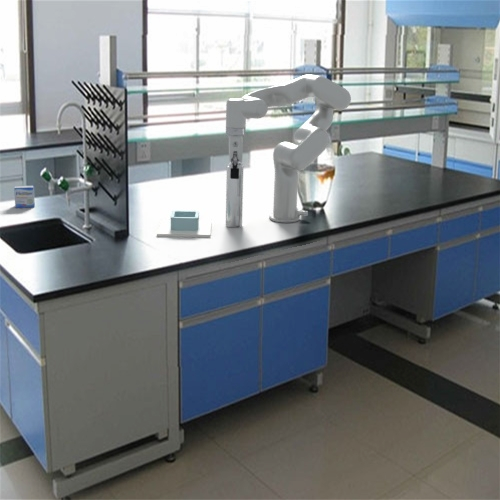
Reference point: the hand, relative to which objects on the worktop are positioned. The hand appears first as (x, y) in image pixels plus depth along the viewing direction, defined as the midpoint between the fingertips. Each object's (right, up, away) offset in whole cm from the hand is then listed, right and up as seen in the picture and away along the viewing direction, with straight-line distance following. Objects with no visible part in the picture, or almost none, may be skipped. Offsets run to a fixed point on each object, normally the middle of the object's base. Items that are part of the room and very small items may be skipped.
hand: (234, 175), depth 280 cm
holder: (-19, -21, 0) cm, 28 cm away
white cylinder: (0, -19, +6) cm, 20 cm away
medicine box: (-89, -10, +26) cm, 93 cm away
